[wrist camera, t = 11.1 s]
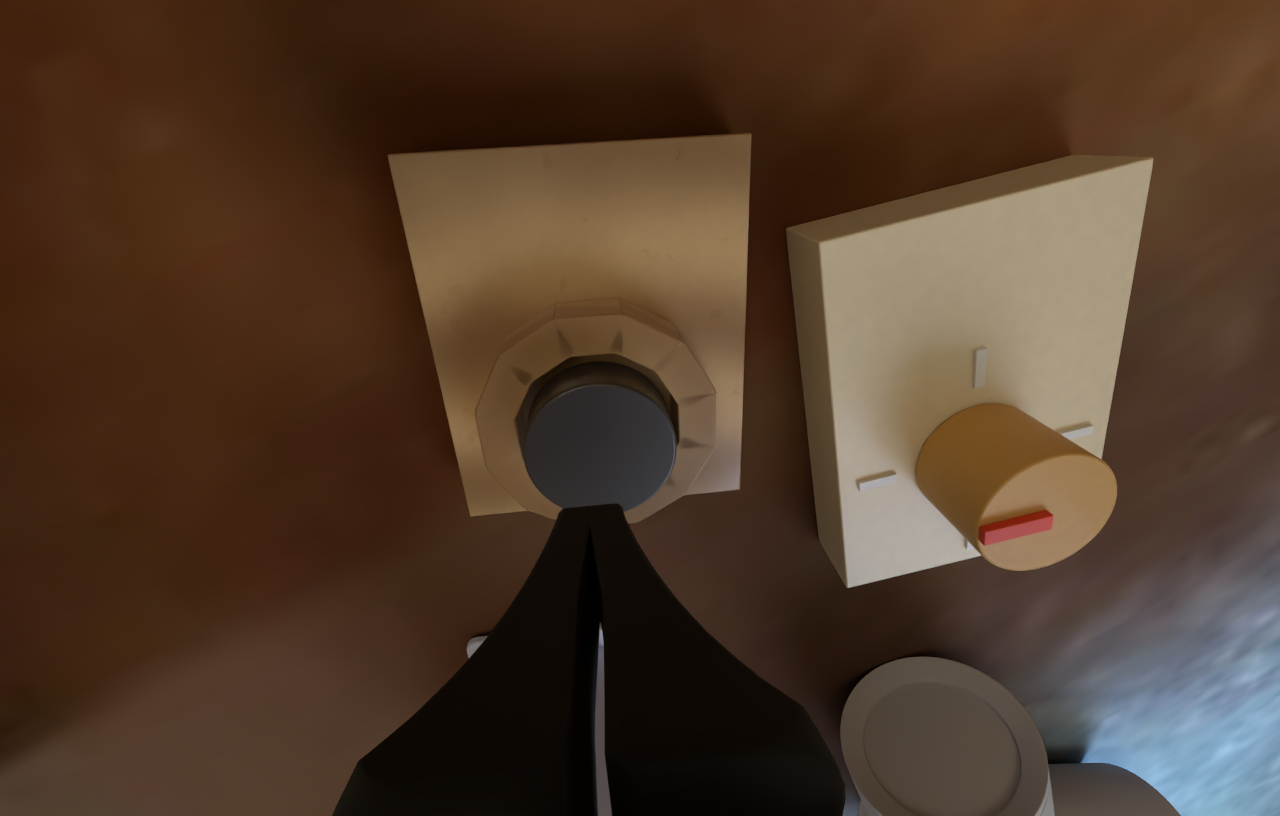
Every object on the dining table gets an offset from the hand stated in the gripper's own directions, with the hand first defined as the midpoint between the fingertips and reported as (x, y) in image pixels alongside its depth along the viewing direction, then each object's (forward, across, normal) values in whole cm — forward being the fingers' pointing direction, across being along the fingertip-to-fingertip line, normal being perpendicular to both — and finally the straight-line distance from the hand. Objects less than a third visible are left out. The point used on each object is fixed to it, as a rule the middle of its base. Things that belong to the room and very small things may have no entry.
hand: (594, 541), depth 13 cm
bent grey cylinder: (+9, -19, +25) cm, 33 cm away
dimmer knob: (+6, -14, +3) cm, 15 cm away
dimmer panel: (+9, -13, +1) cm, 16 cm away
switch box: (+9, 0, -2) cm, 9 cm away
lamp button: (+5, 0, 0) cm, 5 cm away
